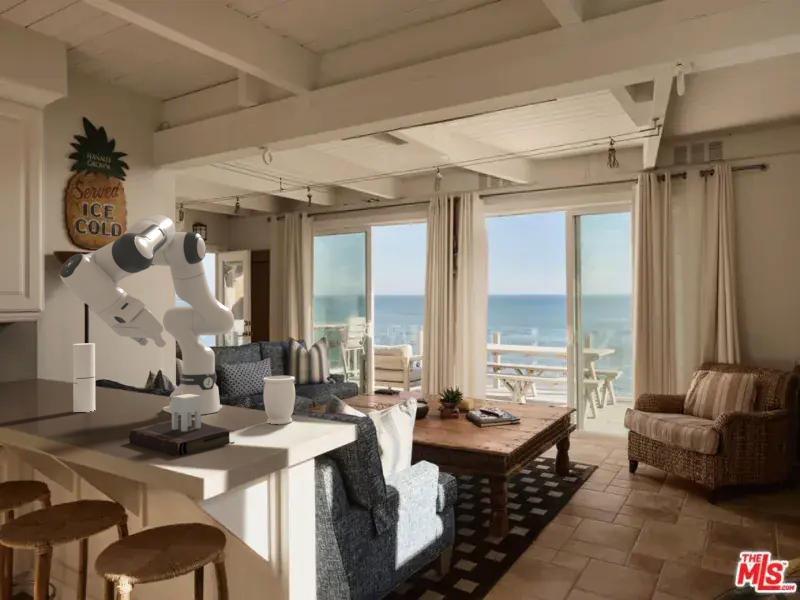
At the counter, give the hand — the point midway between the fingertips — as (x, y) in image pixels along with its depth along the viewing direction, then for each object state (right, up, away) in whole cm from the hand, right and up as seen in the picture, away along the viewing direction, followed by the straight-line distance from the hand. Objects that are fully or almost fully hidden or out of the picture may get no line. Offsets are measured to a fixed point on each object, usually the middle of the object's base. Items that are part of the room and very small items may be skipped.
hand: (154, 344), depth 152 cm
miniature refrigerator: (-51, -30, +58) cm, 82 cm away
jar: (+26, -29, +36) cm, 53 cm away
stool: (+5, -25, +9) cm, 27 cm away
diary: (+4, -30, +9) cm, 32 cm away
